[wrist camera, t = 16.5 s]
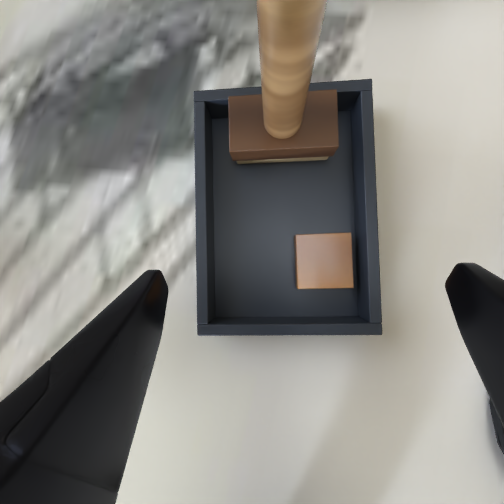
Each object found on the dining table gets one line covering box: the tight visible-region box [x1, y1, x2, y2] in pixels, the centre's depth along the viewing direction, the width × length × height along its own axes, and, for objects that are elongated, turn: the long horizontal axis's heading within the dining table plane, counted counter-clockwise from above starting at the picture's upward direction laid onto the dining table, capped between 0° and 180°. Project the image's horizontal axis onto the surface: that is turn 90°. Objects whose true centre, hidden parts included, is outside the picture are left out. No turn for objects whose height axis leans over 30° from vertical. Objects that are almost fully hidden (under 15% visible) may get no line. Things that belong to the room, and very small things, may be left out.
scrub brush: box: [228, 0, 339, 164], centre depth 15 cm, size 4×8×13 cm, turn 91°
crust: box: [294, 233, 354, 289], centre depth 21 cm, size 4×4×1 cm
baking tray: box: [194, 79, 382, 336], centre depth 21 cm, size 18×13×3 cm
